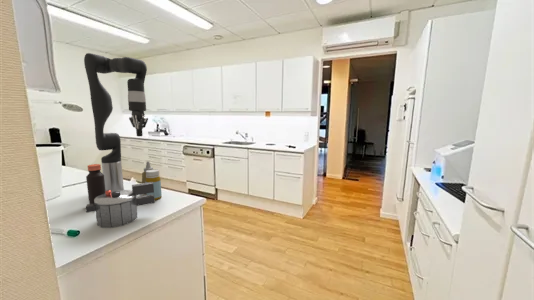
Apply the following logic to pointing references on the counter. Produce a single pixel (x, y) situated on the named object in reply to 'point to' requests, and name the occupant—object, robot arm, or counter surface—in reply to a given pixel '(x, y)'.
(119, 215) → the pot
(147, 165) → the squeeze bottle
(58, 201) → the counter surface
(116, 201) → the lid
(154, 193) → the bottle
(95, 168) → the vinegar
